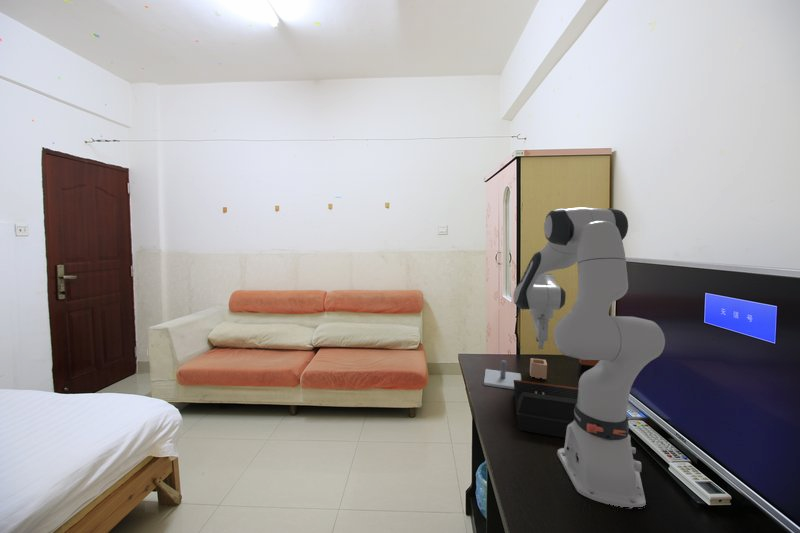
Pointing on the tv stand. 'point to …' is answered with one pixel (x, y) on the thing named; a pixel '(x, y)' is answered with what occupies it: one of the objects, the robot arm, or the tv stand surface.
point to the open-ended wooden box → (538, 368)
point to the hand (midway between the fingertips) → (539, 344)
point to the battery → (586, 365)
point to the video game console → (544, 407)
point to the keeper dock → (497, 380)
